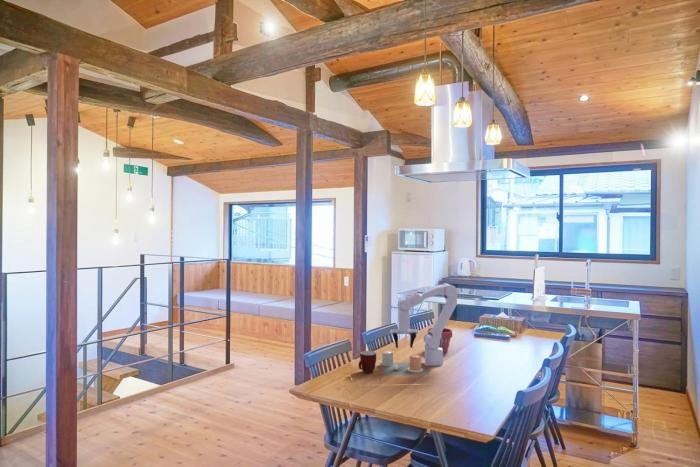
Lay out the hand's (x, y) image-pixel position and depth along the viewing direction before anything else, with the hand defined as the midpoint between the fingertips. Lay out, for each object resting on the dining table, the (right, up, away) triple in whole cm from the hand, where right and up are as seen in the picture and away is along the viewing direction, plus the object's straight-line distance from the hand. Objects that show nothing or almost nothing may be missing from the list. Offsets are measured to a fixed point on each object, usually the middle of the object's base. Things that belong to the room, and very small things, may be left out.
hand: (404, 347), depth 239 cm
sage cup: (-9, -9, -1) cm, 13 cm away
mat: (-1, -10, -8) cm, 12 cm away
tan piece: (+5, -9, -10) cm, 14 cm away
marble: (-5, -7, -10) cm, 14 cm away
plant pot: (+24, -10, +27) cm, 38 cm away
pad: (+5, -9, -10) cm, 14 cm away
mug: (-20, -10, -14) cm, 26 cm away
